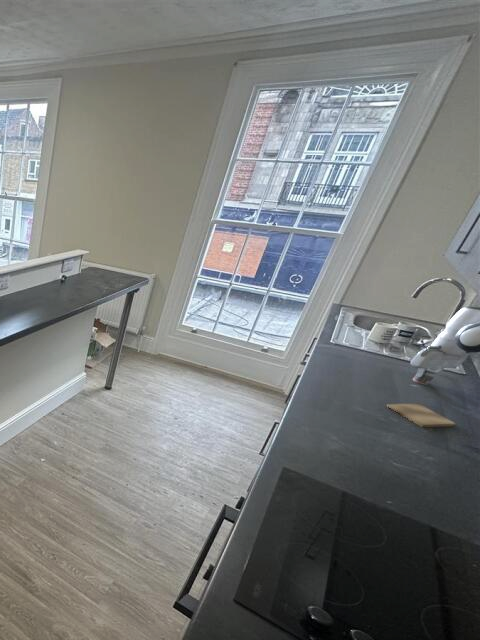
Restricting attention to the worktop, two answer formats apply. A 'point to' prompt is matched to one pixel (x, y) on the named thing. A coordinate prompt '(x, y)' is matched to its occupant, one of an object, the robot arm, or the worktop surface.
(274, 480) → the worktop surface
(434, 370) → the pill bottle
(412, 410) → the board
